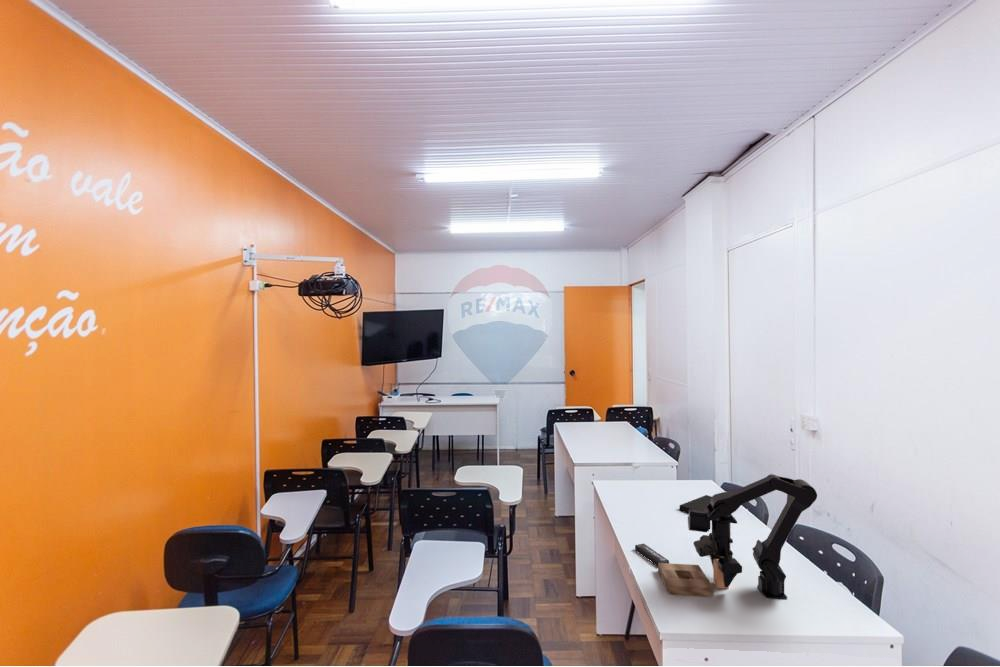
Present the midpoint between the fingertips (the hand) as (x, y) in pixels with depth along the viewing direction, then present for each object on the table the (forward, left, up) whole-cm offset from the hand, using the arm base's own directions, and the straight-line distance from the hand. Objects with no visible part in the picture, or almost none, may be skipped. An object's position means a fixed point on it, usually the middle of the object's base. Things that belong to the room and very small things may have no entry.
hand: (720, 579), depth 150 cm
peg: (0, 0, -2) cm, 2 cm away
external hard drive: (-19, -66, -3) cm, 69 cm away
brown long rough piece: (-7, -21, -2) cm, 22 cm away
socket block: (+12, 0, -2) cm, 12 cm away
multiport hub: (+19, -17, -3) cm, 25 cm away
